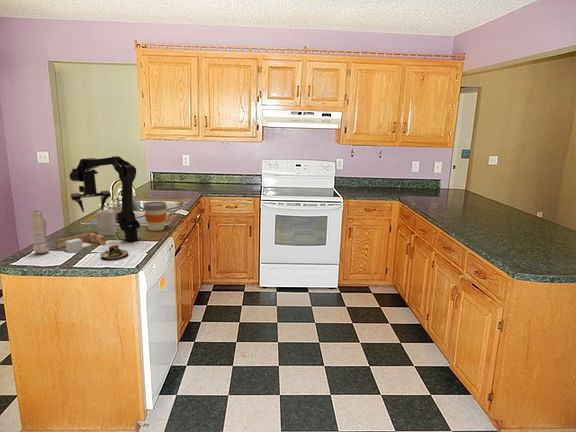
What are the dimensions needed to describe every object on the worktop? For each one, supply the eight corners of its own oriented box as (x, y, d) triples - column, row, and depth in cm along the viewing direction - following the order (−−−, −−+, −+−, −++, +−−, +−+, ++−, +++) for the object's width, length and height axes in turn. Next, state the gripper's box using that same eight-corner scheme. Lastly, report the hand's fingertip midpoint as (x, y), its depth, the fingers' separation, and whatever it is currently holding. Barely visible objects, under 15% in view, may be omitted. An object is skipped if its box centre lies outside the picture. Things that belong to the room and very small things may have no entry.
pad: (91, 245, 200) (91, 244, 200) (80, 248, 196) (80, 247, 195) (85, 242, 204) (85, 242, 204) (73, 245, 199) (73, 245, 199)
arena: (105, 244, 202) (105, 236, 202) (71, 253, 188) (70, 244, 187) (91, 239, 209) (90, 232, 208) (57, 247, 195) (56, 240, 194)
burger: (98, 262, 178) (96, 246, 176) (103, 253, 189) (102, 238, 187) (126, 260, 181) (125, 244, 179) (130, 252, 192) (129, 237, 190)
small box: (116, 232, 224) (115, 209, 221) (113, 235, 218) (111, 212, 215) (102, 232, 223) (99, 209, 220) (97, 235, 217) (95, 212, 214)
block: (82, 249, 194) (81, 239, 192) (70, 252, 189) (69, 242, 187) (78, 248, 196) (77, 238, 195) (66, 251, 191) (65, 241, 190)
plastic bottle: (32, 255, 183) (26, 213, 179) (36, 251, 190) (31, 210, 185) (47, 254, 185) (42, 213, 180) (51, 250, 191) (46, 209, 187)
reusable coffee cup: (169, 230, 230) (168, 205, 226) (146, 232, 225) (144, 206, 221) (165, 225, 241) (164, 201, 237) (144, 227, 236) (142, 202, 232)
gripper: (104, 179, 222) (107, 206, 225) (67, 181, 211) (70, 210, 214) (109, 181, 213) (112, 209, 216) (70, 184, 202) (74, 214, 206)
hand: (92, 211), depth 213 cm, fingers open, 9 cm apart
